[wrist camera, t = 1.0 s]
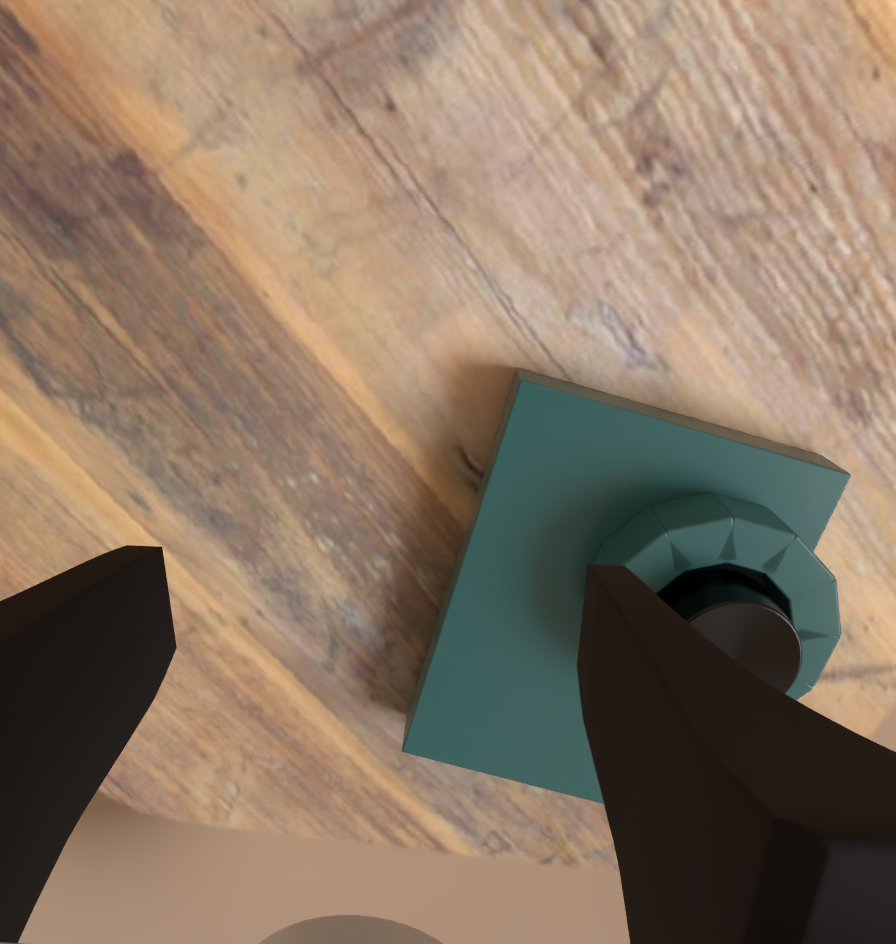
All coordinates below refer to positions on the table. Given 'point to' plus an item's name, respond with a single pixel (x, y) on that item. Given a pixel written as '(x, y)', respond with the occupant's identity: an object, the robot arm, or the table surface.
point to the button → (740, 622)
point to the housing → (604, 543)
